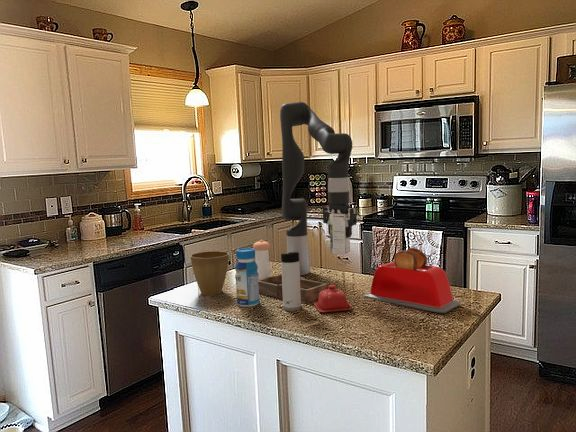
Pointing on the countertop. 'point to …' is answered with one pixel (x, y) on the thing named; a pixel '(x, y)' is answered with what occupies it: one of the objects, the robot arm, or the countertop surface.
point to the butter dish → (332, 300)
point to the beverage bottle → (246, 278)
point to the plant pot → (210, 271)
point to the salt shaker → (262, 259)
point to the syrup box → (338, 234)
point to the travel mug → (291, 281)
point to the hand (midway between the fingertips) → (339, 236)
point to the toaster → (412, 283)
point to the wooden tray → (307, 287)
